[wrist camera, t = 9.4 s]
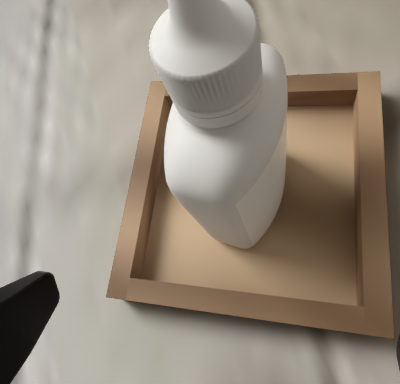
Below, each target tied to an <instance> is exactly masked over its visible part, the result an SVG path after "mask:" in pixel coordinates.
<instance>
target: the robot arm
mask: <svg viewBox="0 0 400 384" xmlns="http://www.w3.org/2000/svg"><path fill="white" fill-rule="evenodd" d="M59 298H60V295H59V291H58V288H57V285H56V281H55V278H54V276H53V274H52V273H50V272H43V271H37V272H35V273H32V274H30V275H28V276H26V277H23V278H21V279H19V280H17V281H15V282H12V283H10V284H8V285H6V286H4V287H1V288H0V384H10V383H11V382H12V380H13V379H14V377H15V376H16V374H17V373H18V371H19V370H20V368H21V367H22V365H23V364H24V362H25V361H26V359H27V358H28V356H29V355H30V353H31V351H32V350H33V348H34V346H35V344H36V343H37V341H38V339H39V337H40V335H41V333H42V332H43V330H44V328H45V326H46V324H47V323H48V321H49V319H50V317H51V315H52V313H53V312H54V310H55V308H56V306H57V304H58V302H59ZM396 352H397V360H398V365H399V370H400V335H399V339H398V342H397V348H396Z"/></svg>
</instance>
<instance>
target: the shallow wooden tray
mask: <svg viewBox="0 0 400 384" xmlns="http://www.w3.org/2000/svg"><path fill="white" fill-rule="evenodd" d="M287 88H288V107H287V143H286V173H285V185H284V191H283V196H282V200H281V203H280V206H279V209H278V211H277V213H276V216H275V218H274V220H273V221H272V223H271V225H270V226H269V228H268V229H267V231H266V232H265V234H264V235H263V236H262V237H261V239H260V240H259V241H258V242H257V243H256V244H255V245H254V246H252V247H250V248H248V249H242V248H238V247H235V246H232V245H229V244H226V243H222V242H220V241H217V240H215V239H214V238H213V237H211V236H210V235H209V234H208V233H207V232H206V231H205V230H204V228H203V227H202V226H201V225H200V224H199V223H198V222H197V221H196V220H195V219H194V218H193V217H192V216H191V215H190V213H189V212H188V211H187V210H186V209H185V208H184V207H183V206H182V205H181V204H180V202H179V201H178V200H177V199H176V198H175V196H174V195H173V194H172V193H171V191H170V189H169V186H168V184H167V182H166V176H165V169H164V143H165V133H166V127H167V122H168V118H169V113H170V110H171V107H172V104H173V101H172V99H171V97H170V95H169V93H168V91H167V90H166V88H165V86H164V84H163V82H162V81H153V82H151V83H150V88H149V93H148V98H147V103H146V107H145V112H144V117H143V122H142V127H141V131H140V136H139V141H138V146H137V151H136V155H135V160H134V165H133V170H132V175H131V180H130V184H129V189H128V194H127V199H126V204H125V208H124V213H123V218H122V223H121V228H120V232H119V237H118V242H117V247H116V252H115V256H114V261H113V266H112V271H111V276H110V280H109V285H108V290H107V295H106V297H108V298H115V299H121V300H128V301H135V302H142V303H149V304H156V305H163V306H170V307H177V308H184V309H191V310H197V311H204V312H211V313H218V314H225V315H232V316H239V317H246V318H253V319H260V320H267V321H274V322H280V323H287V324H294V325H301V326H308V327H315V328H322V329H329V330H336V331H343V332H350V333H356V334H363V335H370V336H377V337H384V338H391V339H394V325H393V306H392V287H391V269H390V250H389V231H388V213H387V194H386V175H385V157H384V138H383V119H382V101H381V82H380V71H379V72H356V73H334V74H311V75H289V76H287Z"/></svg>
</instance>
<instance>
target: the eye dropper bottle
mask: <svg viewBox="0 0 400 384" xmlns="http://www.w3.org/2000/svg"><path fill="white" fill-rule="evenodd" d="M168 5H169V8H168V9H167V10H166V11H165V12H164V13H163V14H162V15H161V16H160V18H159V19H158V21H157V22H156V24H155V26H154V28H153V29H152V32H151V34H150V35H151V36H150V38H149V40H150V41H149V54H150V58H151V60H152V63H153V64H154V66H155V68H156V70H157V72H158V74H159V76H160V78H161V80H162V82H163V84H164V86H165V88H166V90H167V91H168V93H169V95H170V97H171V99H172V101H173V104H172V107H171V110H170V113H169V118H168V122H167V127H166V133H165V143H164V169H165V176H166V182H167V184H168V186H169V189H170V191H171V193H172V194H173V195H174V196H175V198H176V199H177V200H178V201H179V202H180V204H181V205H182V206H183V207H184V208H185V209H186V210H187V211H188V212H189V213H190V215H191V216H192V217H193V218H194V219H195V220H196V221H197V222H198V223H199V224H200V225H201V226H202V227H203V228H204V230H205V231H206V232H207V233H208V234H209V235H210V236H211V237H213V238H214V239H215V240H217V241H220V242H222V243H226V244H229V245H232V246H235V247H238V248H242V249H248V248H250V247H252V246H254V245H255V244H256V243H257V242H258V241H259V240H260V239H261V237H262V236H263V235H264V234H265V232H266V231H267V229H268V228H269V226H270V225H271V223H272V221H273V220H274V218H275V216H276V213H277V211H278V209H279V206H280V203H281V200H282V196H283V191H284V185H285V173H286V143H287V107H288V88H287V76H286V70H285V65H284V62H283V59H282V56H281V55H280V53H279V52H278V51H277V49H275V48H274V47H272V46H270V45H268V44H264V43H260V30H259V20H258V18H257V15H256V12H255V11H254V10H253V7H252V6H250V4H249V3H248V2H247V1H246V0H168Z"/></svg>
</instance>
